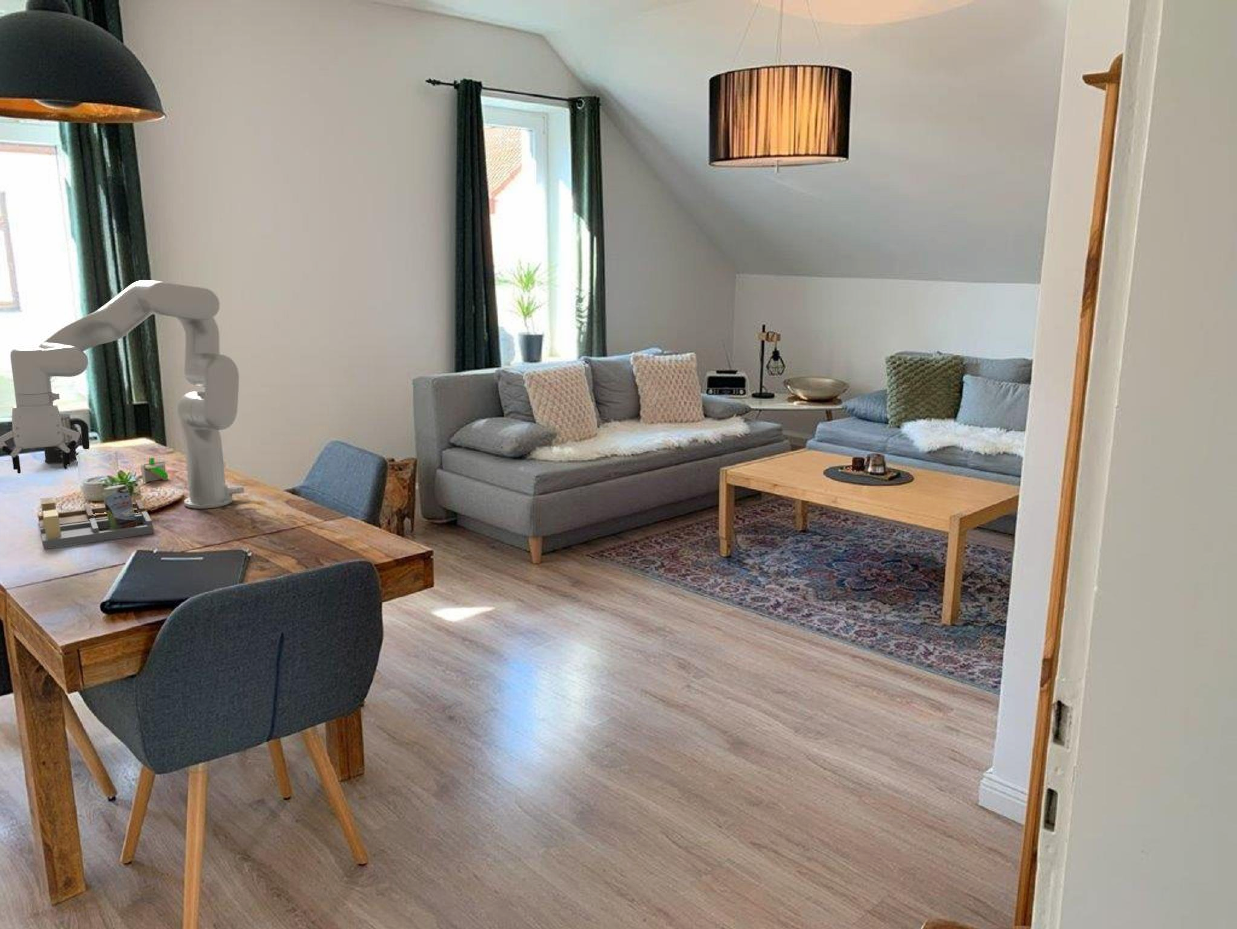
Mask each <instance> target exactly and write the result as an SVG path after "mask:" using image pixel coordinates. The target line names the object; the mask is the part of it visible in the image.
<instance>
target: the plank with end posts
mask: <svg viewBox="0 0 1237 929" xmlns="http://www.w3.org/2000/svg"><path fill="white" fill-rule="evenodd" d="M134 500H135V502H132V506H133V508H137V511H138V513H137V511H136V512H134V514H135V515H140V514H142V512H144V511H146V507H145V505H144V504H143V503H142V500H141V499H140V498H139V499H134ZM40 506H41V512H42V513H41V514H37V518H38V523H39V530H40V528H44V527H45V523H44V516H43V511H48V510H56V509H57V506H56V500H55V497H54V496H53V497H43V498H40ZM57 512H58V511H57ZM104 512H106V508H105V505H104V506H98V507H97V506H95V507H91V505H85V506H84V508H83V509H82V508H80V509H73V510H66V511H59V512H58V516H59V524H60V525H66V524H74V523H81V522H88V521H90V520H89V519H92V518H95V516H94V515H93V514H95V513H104ZM103 519H108V517H107V516H103V517H101V516H100V517H96V518H95V520H103ZM40 532H41V530H40Z"/></svg>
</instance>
